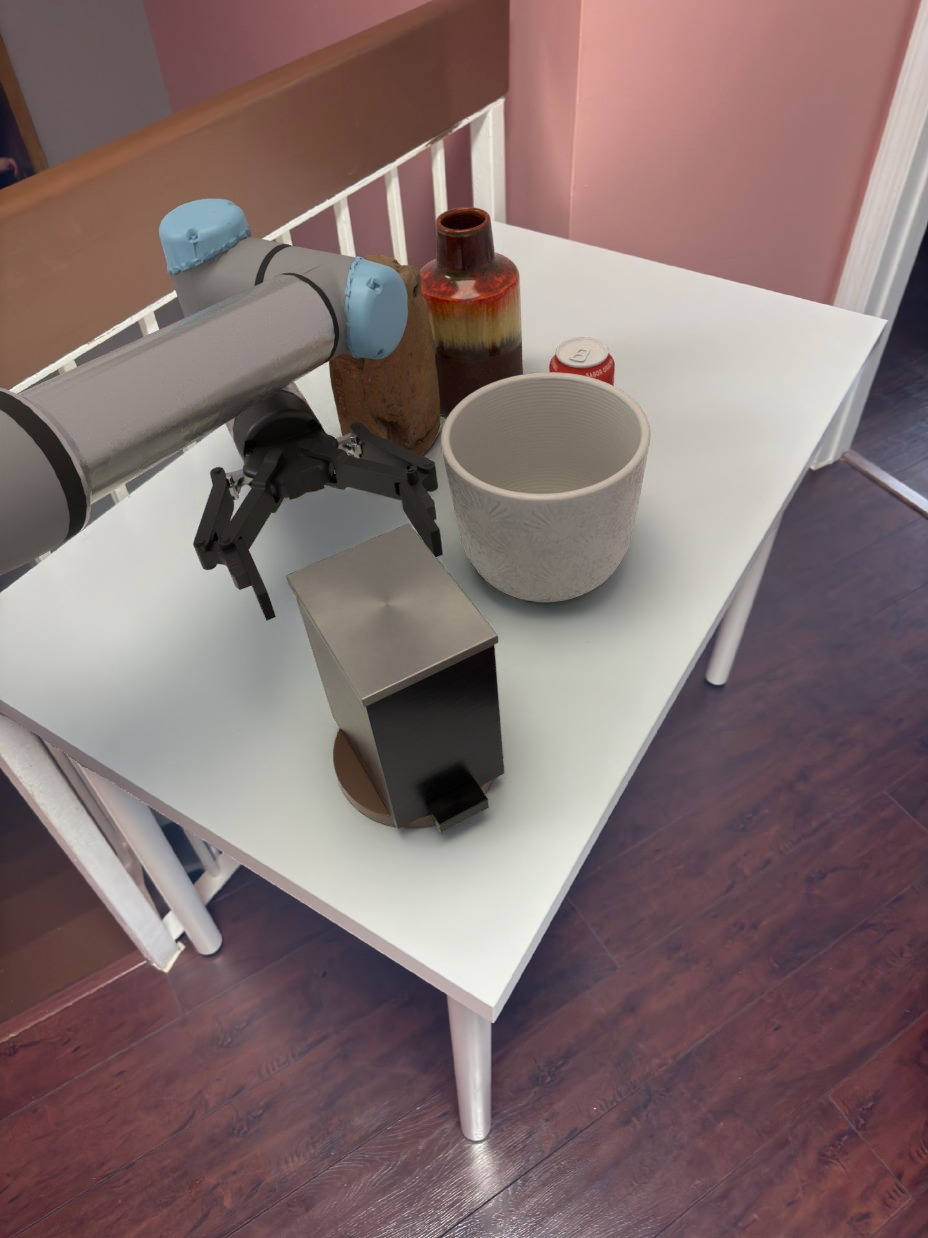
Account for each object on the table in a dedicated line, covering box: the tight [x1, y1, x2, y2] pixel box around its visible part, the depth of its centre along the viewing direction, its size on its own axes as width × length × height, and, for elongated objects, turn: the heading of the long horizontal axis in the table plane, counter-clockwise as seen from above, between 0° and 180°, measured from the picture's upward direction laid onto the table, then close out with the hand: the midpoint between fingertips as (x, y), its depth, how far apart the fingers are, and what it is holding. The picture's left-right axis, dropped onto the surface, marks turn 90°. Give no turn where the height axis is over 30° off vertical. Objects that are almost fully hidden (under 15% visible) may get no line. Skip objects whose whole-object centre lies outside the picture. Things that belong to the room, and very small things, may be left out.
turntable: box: [332, 727, 495, 829], centre depth 71 cm, size 13×13×2 cm
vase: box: [419, 206, 524, 419], centre depth 97 cm, size 11×11×20 cm
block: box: [328, 253, 441, 459], centre depth 91 cm, size 11×8×20 cm
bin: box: [285, 523, 505, 834], centre depth 64 cm, size 9×14×16 cm, turn 29°
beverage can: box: [548, 336, 616, 387], centre depth 91 cm, size 6×6×12 cm
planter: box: [440, 371, 651, 603], centre depth 79 cm, size 17×17×15 cm
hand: (354, 574), depth 68 cm, fingers open, 13 cm apart
